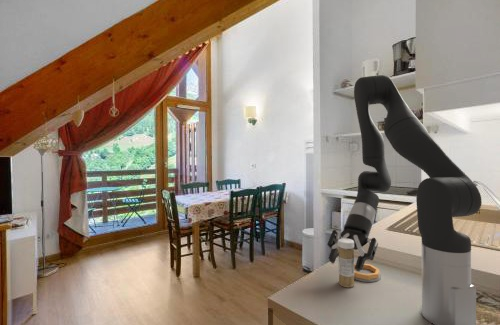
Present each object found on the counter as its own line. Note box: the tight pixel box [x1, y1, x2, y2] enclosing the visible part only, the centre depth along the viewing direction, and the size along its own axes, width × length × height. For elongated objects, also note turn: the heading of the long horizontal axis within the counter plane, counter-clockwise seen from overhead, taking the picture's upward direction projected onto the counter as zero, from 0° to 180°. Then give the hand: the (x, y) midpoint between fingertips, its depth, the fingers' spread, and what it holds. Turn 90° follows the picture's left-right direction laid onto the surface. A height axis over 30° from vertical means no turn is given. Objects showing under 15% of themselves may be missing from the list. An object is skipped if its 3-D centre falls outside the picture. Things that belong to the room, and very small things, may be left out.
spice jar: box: [337, 238, 355, 288], centre depth 79 cm, size 5×5×13 cm
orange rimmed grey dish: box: [354, 262, 382, 283], centre depth 85 cm, size 10×10×2 cm
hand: (343, 265), depth 78 cm, fingers open, 7 cm apart
